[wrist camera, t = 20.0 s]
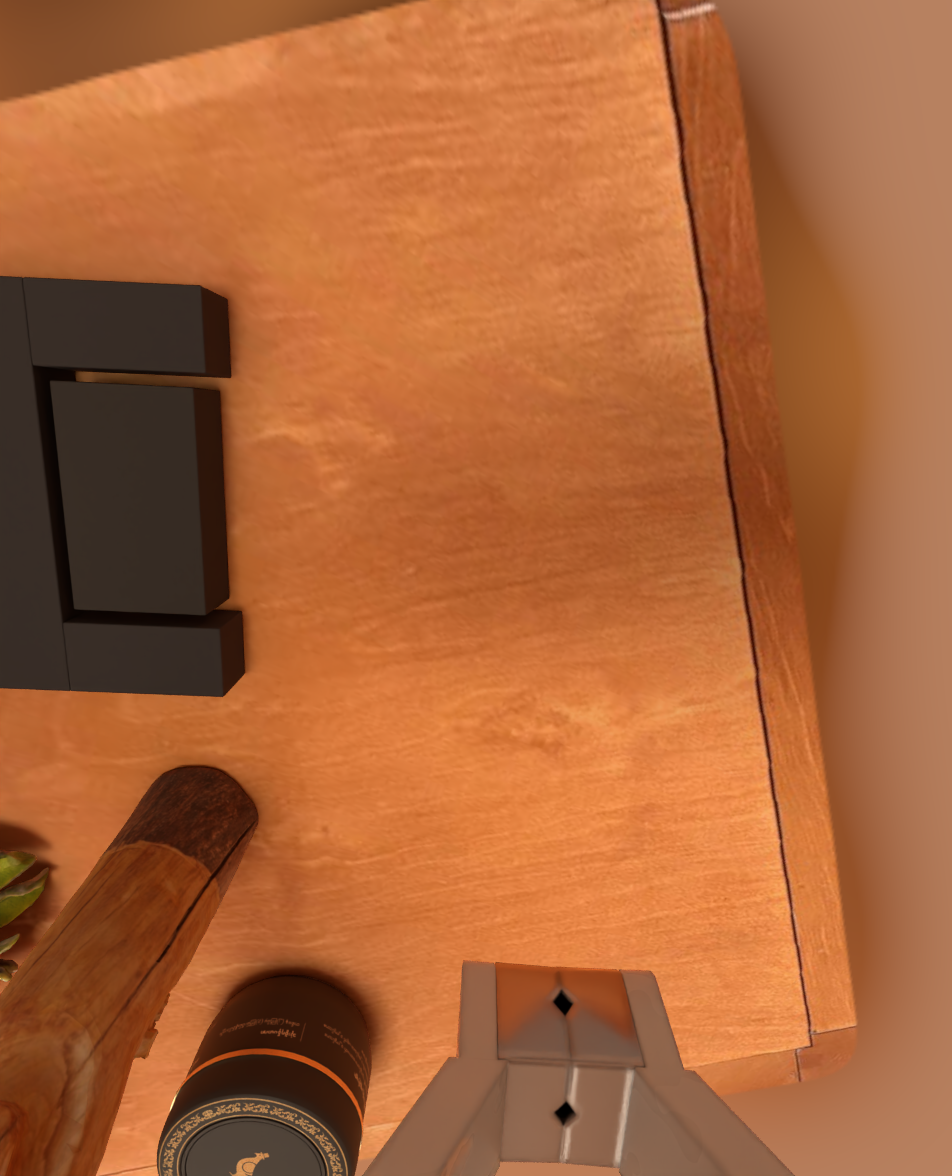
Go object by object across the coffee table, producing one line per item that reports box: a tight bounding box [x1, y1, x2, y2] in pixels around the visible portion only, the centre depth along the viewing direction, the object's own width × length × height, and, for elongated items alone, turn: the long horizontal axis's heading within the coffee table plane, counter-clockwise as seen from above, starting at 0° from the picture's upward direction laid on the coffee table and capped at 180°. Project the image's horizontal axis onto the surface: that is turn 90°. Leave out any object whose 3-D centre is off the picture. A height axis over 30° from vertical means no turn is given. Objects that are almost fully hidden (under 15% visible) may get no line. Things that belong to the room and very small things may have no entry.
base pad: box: [0, 276, 245, 697], centre depth 30 cm, size 18×16×3 cm
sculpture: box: [0, 767, 258, 1176], centre depth 22 cm, size 7×9×30 cm
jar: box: [157, 975, 371, 1176], centre depth 36 cm, size 10×10×8 cm
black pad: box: [50, 381, 229, 615], centre depth 30 cm, size 10×6×3 cm, turn 177°
